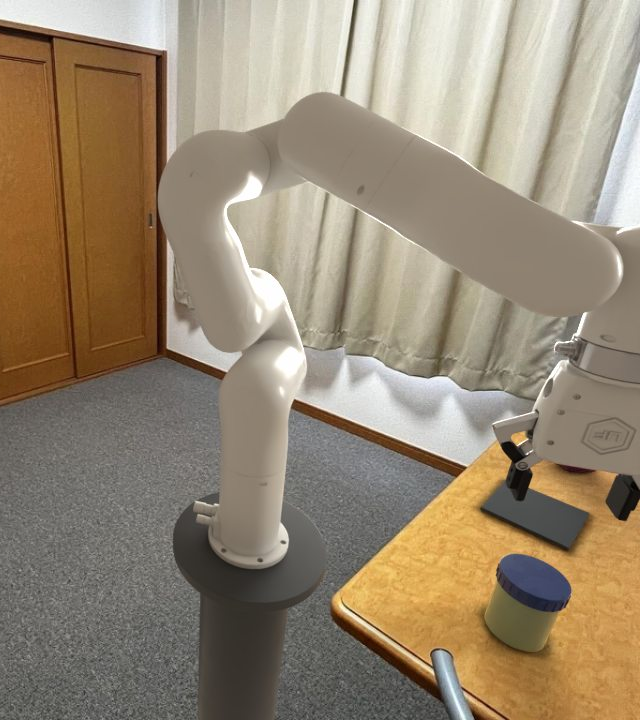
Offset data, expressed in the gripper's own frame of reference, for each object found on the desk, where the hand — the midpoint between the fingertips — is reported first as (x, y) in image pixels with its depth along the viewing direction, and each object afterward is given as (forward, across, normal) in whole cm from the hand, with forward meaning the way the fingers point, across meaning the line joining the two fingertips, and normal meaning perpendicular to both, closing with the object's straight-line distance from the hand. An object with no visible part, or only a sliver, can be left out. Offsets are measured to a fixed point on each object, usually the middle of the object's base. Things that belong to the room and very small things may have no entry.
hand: (563, 502), depth 53 cm
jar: (+20, 0, 0) cm, 20 cm away
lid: (+11, 0, 0) cm, 11 cm away
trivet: (+20, +9, +26) cm, 34 cm away
